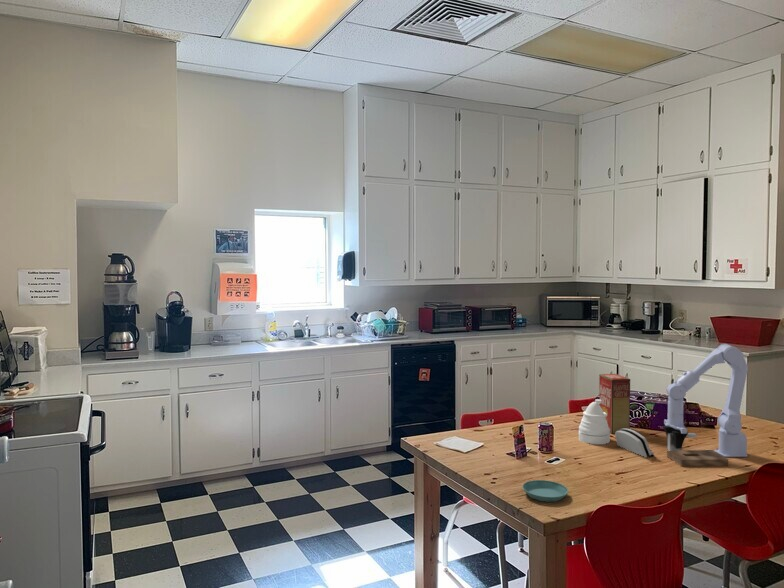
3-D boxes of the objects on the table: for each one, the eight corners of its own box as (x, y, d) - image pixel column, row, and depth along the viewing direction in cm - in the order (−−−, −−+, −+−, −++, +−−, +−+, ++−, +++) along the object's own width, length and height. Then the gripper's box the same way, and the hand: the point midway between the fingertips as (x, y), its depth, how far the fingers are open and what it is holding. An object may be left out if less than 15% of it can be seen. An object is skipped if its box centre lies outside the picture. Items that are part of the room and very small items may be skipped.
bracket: (693, 449, 242) (694, 432, 242) (696, 451, 240) (696, 434, 240) (667, 450, 242) (667, 433, 241) (669, 451, 240) (670, 434, 239)
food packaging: (597, 426, 277) (598, 373, 276) (616, 425, 278) (617, 373, 277) (611, 434, 264) (612, 379, 263) (631, 433, 265) (632, 378, 264)
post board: (711, 456, 234) (711, 450, 233) (728, 465, 223) (728, 459, 222) (666, 456, 233) (667, 450, 233) (681, 466, 222) (681, 459, 222)
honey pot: (615, 441, 254) (616, 399, 253) (597, 446, 247) (597, 404, 246) (590, 434, 265) (591, 394, 264) (572, 438, 258) (572, 398, 257)
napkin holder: (655, 456, 233) (648, 434, 232) (646, 461, 232) (639, 439, 231) (627, 444, 249) (620, 423, 248) (618, 449, 248) (611, 427, 247)
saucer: (542, 508, 185) (542, 499, 185) (513, 491, 198) (513, 484, 198) (577, 499, 191) (577, 492, 191) (547, 484, 205) (547, 477, 205)
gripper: (657, 409, 247) (656, 440, 248) (674, 418, 233) (674, 451, 233) (673, 408, 247) (673, 440, 248) (692, 417, 233) (691, 451, 233)
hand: (674, 446), depth 241 cm, fingers open, 5 cm apart
